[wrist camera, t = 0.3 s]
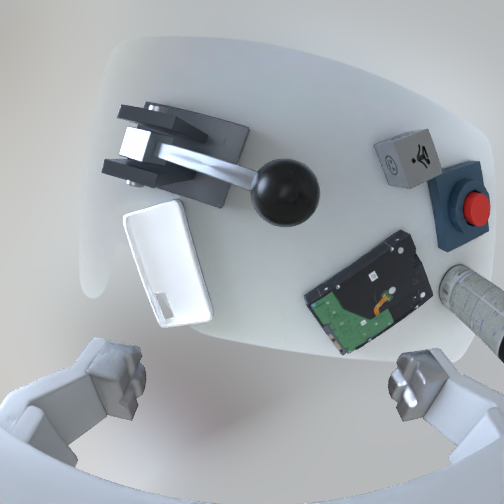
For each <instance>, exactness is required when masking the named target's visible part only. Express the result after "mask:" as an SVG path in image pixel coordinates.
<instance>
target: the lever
mask: <svg viewBox="0 0 504 504" xmlns="http://www.w3.org/2000/svg"><path fill="white" fill-rule="evenodd" d="M173 139H174V138H173V137H171V136H167V135H163V134H160V133H156V132H152V131H148V130H143V129H139V128H134V127H128V128H127V131H126V134H125V137H124V141H123V144H122V147H121V151H120V155H121V156H124V157H127V158H130V159H133V160H136V161H139V162H142V163H148V164H155V165H162V166H165V164H166V161H168V162H171V163H174V164H177V165H180V166H183V167H186V168H189V169H192V170H195V171H198V172H200V173H203V174H206V175H209V176H212V177H214V178H217V179H220V180H223V181H225V182H228V183H231V184H233V185H236V186H239V187H241V188H244V189H247V190H249V191H251V200H252V204H253V206H254V208H255V210H256V212H257V213H258V214H259V215H260V217H261V218H263V219H264V220H265V221H267V222H268V223H270V224H272V225H275V226H279V227H293V226H296V225H299V224H301V223H303V222H305V221H306V220H308V219H309V218H310V217H311V216H312V214H313V213H314V212H315V210H316V208H317V206H318V203H319V198H320V188H319V183H318V181H317V178H316V176H315V175H314V173H313V172H312V171H311V170H310V169H309V168H308V167H307V166H306V165H305V164H303V163H301V162H299V161H296V160H293V159H277V160H273V161H271V162H269V163H267V164H265V165H264V166H263V167H262V168H261V169H260V170H259V171H255V170H252V169H249V168H246V167H243V166H240V165H237V164H234V163H231V162H228V161H225V160H222V159H219V158H215V157H212V156H209V155H206V154H202V153H199V152H196V151H192V150H189V149H185V148H182V147H178V146H174V145H172V142H173Z"/></svg>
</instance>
